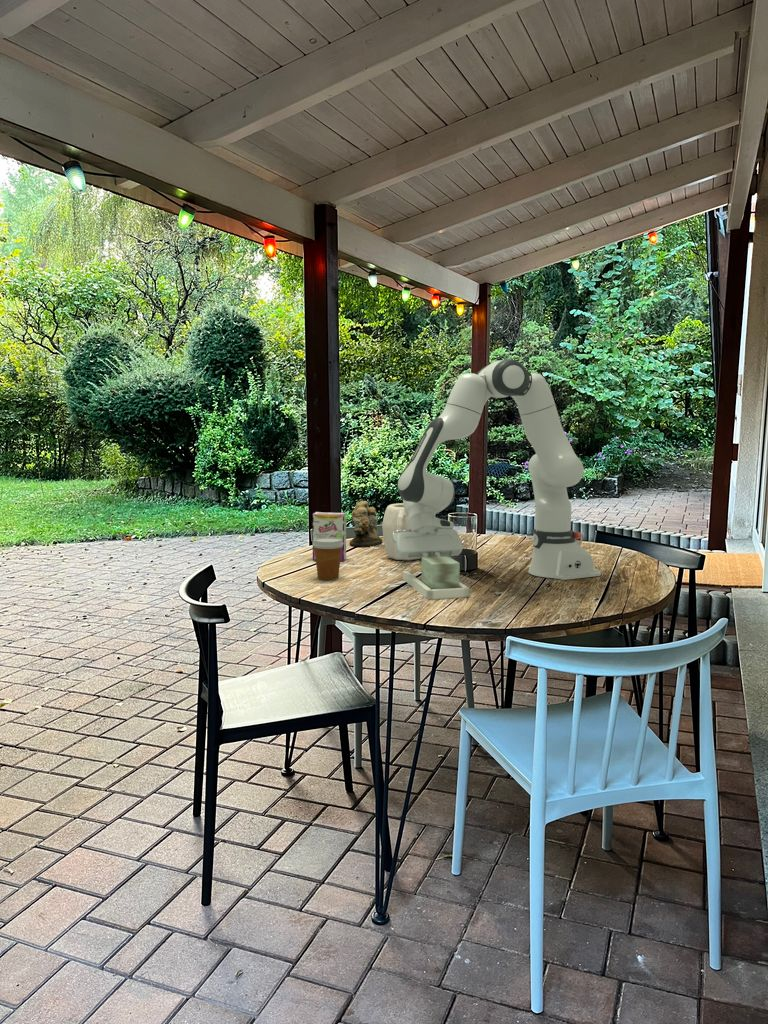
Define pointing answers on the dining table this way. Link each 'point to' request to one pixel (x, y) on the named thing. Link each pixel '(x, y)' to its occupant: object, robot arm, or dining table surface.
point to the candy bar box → (330, 528)
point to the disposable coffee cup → (328, 557)
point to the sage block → (440, 572)
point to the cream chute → (436, 593)
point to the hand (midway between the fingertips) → (433, 567)
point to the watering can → (394, 527)
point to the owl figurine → (365, 526)
